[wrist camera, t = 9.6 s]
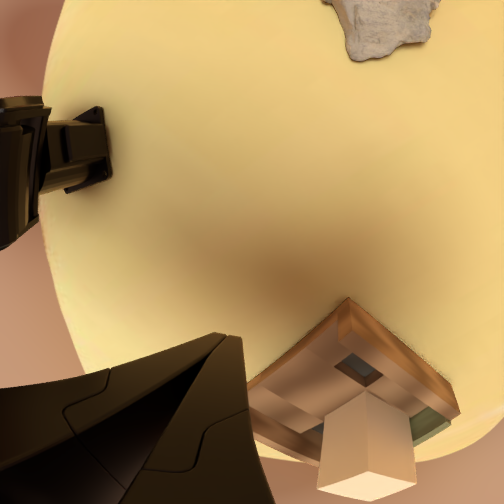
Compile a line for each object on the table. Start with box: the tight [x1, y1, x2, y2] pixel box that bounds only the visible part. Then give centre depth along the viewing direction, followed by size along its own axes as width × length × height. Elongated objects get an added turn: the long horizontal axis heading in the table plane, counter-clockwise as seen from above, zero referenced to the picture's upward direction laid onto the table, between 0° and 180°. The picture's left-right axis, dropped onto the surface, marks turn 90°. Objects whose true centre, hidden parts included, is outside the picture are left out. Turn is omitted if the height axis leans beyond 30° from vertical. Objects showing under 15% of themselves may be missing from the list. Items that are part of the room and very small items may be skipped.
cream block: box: [316, 391, 417, 501], centre depth 17 cm, size 7×5×8 cm
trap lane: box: [247, 297, 461, 468], centre depth 20 cm, size 16×15×4 cm
